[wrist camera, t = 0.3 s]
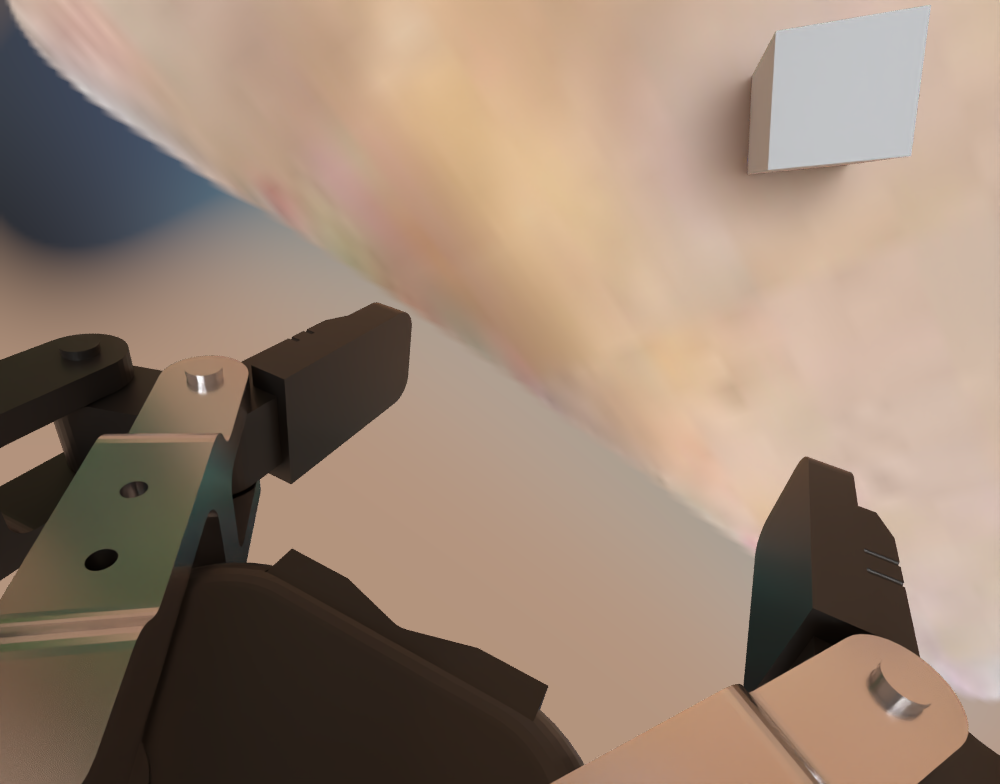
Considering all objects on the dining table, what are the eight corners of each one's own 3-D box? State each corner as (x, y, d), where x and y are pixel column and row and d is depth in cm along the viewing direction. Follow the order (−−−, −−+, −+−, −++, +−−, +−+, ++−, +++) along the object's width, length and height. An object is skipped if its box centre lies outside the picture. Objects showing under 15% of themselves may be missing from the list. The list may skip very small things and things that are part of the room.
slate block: (751, 76, 31) (775, 31, 22) (857, 60, 29) (930, 4, 20) (747, 174, 32) (767, 170, 23) (847, 164, 31) (911, 155, 22)
